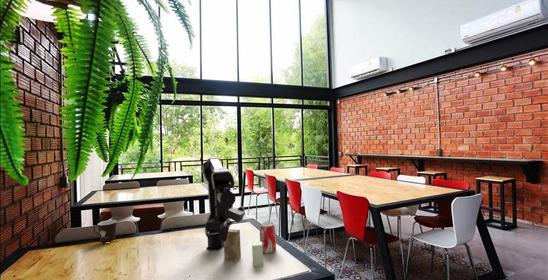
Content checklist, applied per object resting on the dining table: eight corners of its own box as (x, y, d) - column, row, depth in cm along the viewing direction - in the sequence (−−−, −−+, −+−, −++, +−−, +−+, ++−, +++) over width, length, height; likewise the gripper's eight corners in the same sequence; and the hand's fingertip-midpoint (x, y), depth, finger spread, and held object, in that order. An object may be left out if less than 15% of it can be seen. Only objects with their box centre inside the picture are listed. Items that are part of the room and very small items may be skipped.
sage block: (252, 266, 112) (252, 245, 112) (253, 261, 116) (252, 242, 116) (263, 265, 112) (262, 245, 112) (262, 261, 116) (262, 241, 116)
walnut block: (224, 260, 119) (223, 231, 119) (228, 257, 122) (226, 229, 122) (237, 261, 117) (236, 232, 117) (241, 258, 120) (239, 229, 120)
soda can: (274, 254, 122) (273, 226, 122) (258, 254, 124) (257, 226, 124) (277, 248, 129) (276, 222, 129) (262, 248, 131) (261, 221, 131)
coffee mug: (120, 240, 150) (120, 221, 151) (103, 245, 143) (103, 225, 143) (109, 237, 157) (108, 219, 157) (92, 242, 149) (91, 223, 150)
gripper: (230, 208, 102) (232, 251, 102) (250, 197, 120) (251, 234, 120) (203, 207, 105) (205, 249, 105) (226, 197, 123) (227, 233, 123)
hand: (224, 241), depth 113 cm, fingers closed
